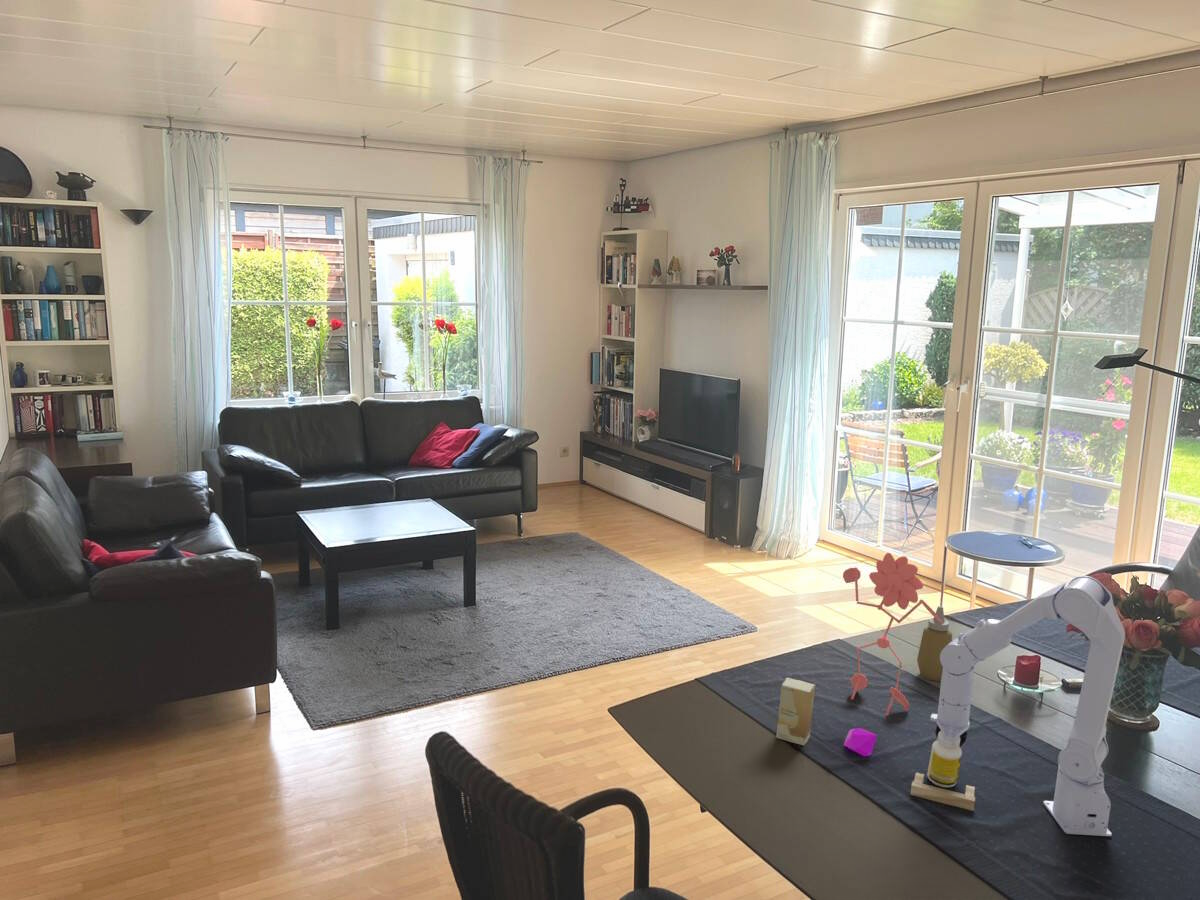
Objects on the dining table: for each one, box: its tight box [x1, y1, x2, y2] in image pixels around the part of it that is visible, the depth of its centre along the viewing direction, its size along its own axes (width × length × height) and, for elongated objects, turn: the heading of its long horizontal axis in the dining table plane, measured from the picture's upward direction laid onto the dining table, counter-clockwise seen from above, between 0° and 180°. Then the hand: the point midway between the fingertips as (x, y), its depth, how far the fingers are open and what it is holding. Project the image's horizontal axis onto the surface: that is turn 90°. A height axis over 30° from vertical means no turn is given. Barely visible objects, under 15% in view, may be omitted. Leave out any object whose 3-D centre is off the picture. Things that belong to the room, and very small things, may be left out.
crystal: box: [843, 727, 878, 757], centre depth 180 cm, size 5×5×5 cm
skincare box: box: [776, 677, 816, 746], centre depth 184 cm, size 6×4×12 cm
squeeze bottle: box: [916, 605, 953, 682], centre depth 214 cm, size 8×8×18 cm
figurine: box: [842, 552, 943, 727], centre depth 200 cm, size 15×26×35 cm, turn 40°
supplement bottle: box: [927, 731, 963, 788], centre depth 169 cm, size 5×5×10 cm
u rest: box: [910, 772, 976, 812], centre depth 165 cm, size 5×11×2 cm, turn 64°
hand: (947, 763), depth 174 cm, fingers closed
